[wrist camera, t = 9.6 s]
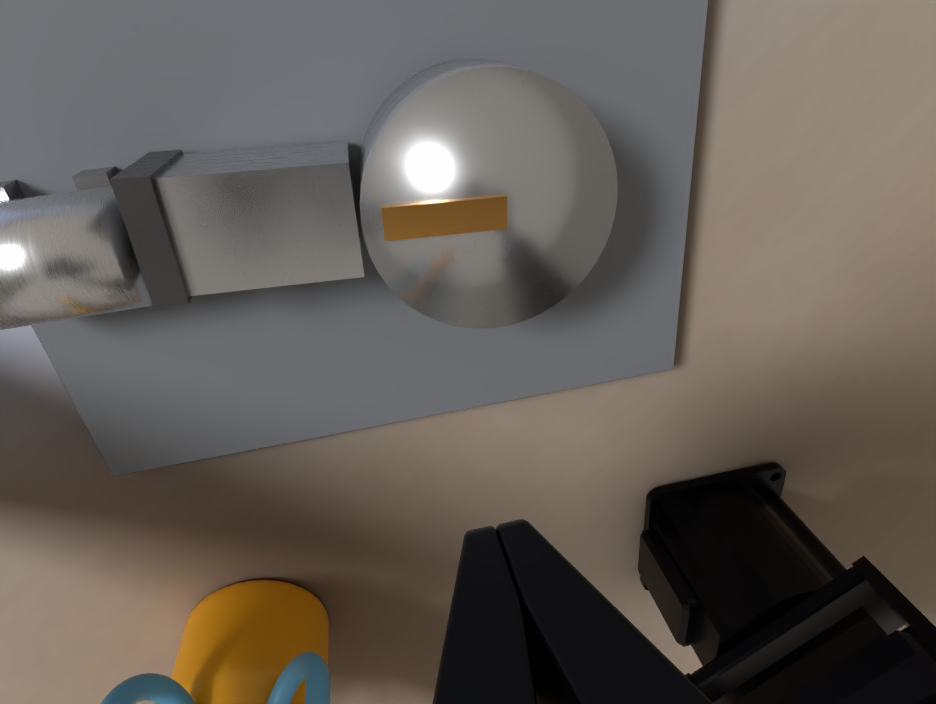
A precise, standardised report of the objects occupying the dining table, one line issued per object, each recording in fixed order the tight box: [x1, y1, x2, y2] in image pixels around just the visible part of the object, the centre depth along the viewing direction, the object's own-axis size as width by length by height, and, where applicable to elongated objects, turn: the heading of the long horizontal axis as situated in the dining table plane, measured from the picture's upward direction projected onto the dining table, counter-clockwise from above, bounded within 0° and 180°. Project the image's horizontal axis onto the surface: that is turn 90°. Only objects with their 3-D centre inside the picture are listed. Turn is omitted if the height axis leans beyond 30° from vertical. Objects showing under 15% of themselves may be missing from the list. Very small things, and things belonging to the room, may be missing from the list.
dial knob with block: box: [109, 59, 618, 329], centre depth 15 cm, size 12×6×3 cm, turn 92°
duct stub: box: [0, 166, 152, 330], centre depth 15 cm, size 4×3×3 cm
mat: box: [0, 0, 708, 476], centre depth 17 cm, size 20×15×1 cm
